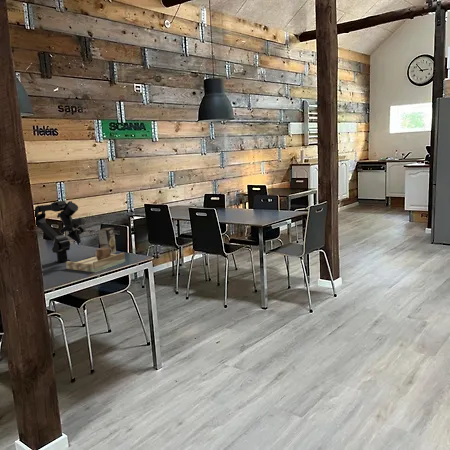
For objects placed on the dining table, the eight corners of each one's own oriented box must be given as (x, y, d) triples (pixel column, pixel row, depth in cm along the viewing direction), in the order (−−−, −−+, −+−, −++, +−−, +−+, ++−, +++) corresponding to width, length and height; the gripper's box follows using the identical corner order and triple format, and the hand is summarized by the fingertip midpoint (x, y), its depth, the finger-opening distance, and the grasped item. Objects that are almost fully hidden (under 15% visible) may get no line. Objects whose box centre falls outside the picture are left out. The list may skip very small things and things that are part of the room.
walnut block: (97, 263, 253) (96, 249, 252) (104, 261, 257) (102, 247, 256) (104, 264, 250) (102, 250, 249) (110, 262, 255) (109, 248, 253)
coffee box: (110, 255, 279) (107, 230, 277) (100, 255, 281) (97, 230, 278) (116, 252, 288) (114, 227, 286) (107, 252, 290) (104, 227, 287)
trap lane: (66, 268, 253) (65, 259, 252) (97, 258, 273) (96, 250, 272) (95, 272, 242) (94, 262, 241) (125, 261, 261) (124, 252, 260)
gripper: (69, 211, 252) (82, 234, 250) (86, 214, 270) (98, 236, 268) (53, 221, 254) (66, 245, 251) (71, 224, 272) (83, 246, 269)
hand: (79, 243), depth 260 cm, fingers closed
